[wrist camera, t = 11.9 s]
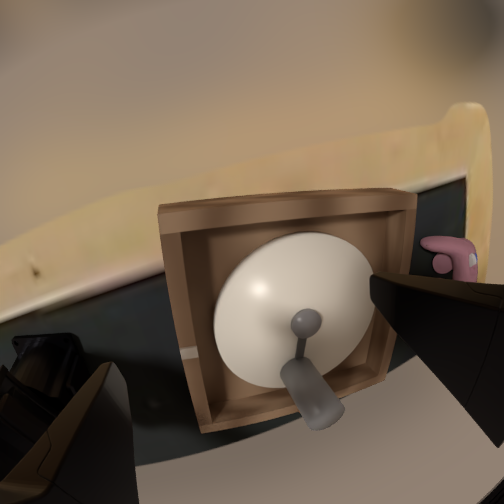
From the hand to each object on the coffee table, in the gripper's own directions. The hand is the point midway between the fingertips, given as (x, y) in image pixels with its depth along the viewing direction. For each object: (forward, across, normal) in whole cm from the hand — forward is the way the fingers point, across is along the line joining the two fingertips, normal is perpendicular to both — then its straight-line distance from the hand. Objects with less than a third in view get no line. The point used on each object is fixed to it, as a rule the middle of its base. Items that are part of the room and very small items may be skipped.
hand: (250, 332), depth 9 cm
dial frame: (+13, -6, +9) cm, 17 cm away
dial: (+12, -6, +9) cm, 16 cm away
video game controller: (+13, -23, +12) cm, 29 cm away
